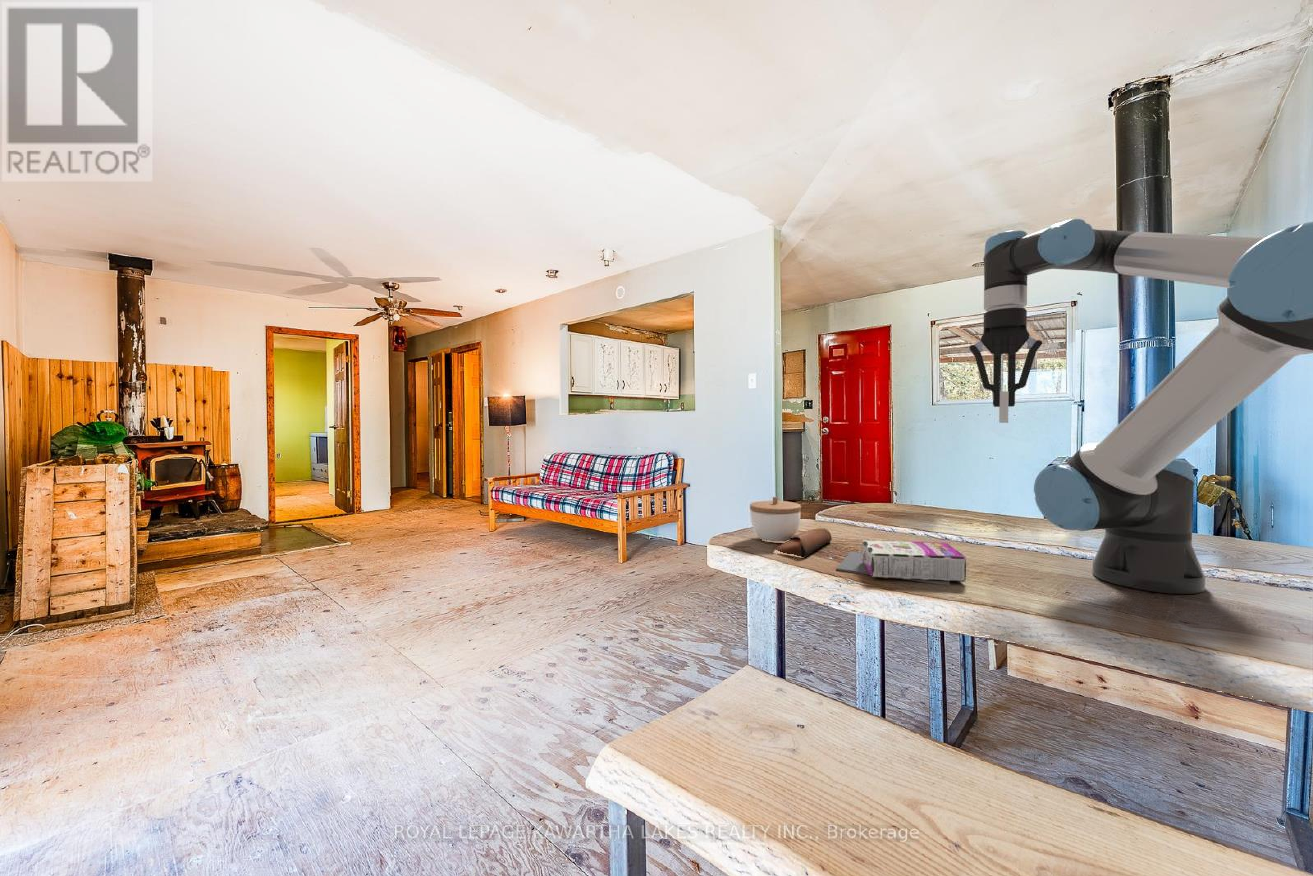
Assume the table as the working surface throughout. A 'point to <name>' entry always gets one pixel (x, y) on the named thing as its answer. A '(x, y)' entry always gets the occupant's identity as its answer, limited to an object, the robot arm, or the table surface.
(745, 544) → the table surface
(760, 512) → the lidded bowl
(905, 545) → the candy bar box
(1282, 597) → the table surface
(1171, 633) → the table surface
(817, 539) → the sunglasses case
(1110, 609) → the table surface
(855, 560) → the mat
